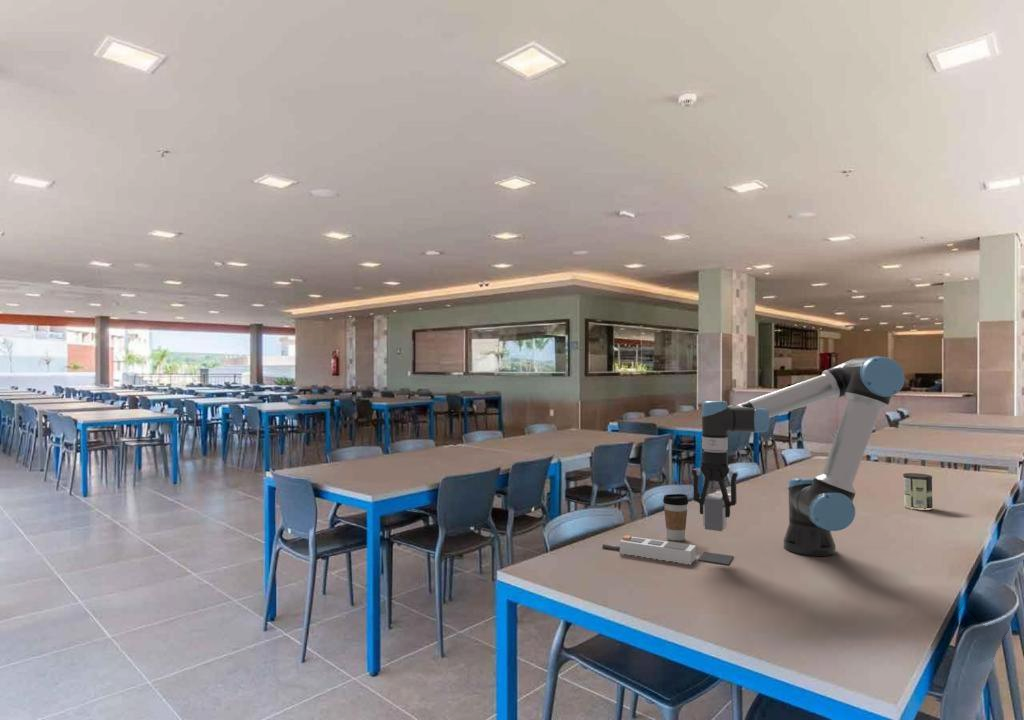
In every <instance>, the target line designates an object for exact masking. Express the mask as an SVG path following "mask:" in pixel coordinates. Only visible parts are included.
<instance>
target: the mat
mask: <svg viewBox="0 0 1024 720" xmlns="http://www.w3.org/2000/svg"><path fill="white" fill-rule="evenodd" d="M734 557H735V555H730V554H729V555H728V554H722V553H721V554H720V553H715V552H707V551H703V552H702V554H700V556H699V557H698V559H697V562H702V561H703V563H709V564H710V563H711V564H717V565H722V564H724V566H730V564H731V563H732V561H733V559H734ZM730 562H731V563H730Z"/></svg>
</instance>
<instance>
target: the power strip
mask: <svg viewBox="0 0 1024 720" xmlns="http://www.w3.org/2000/svg"><path fill="white" fill-rule="evenodd" d="M606 548H609V549H608V550H613V549H616V550H615V551H619V550H620V551H619V554H620V553H622V554H621V555H624V554H629V555H628V556H630V555H635V556H634V557H637V556H641V557H640V558H643V557H646V558H645V559H649V558H653V559H652V560H656V559H658V560H657V561H662V560H665V561H664V562H669V561H673V562H672V563H675V562H678V563H677V564H682V563H683V564H682V565H688V564H689V566H690V565H692V564H693V563H694V562H695V560H696V558H697V551H696V550H697V546H696V544H695V545H694V544H690V543H683V542H678V541H666V540H660V539H651V538H646V537H645V538H644V537H638V536H637V537H636V536H632V535H627V534H625V535H624V536H622V539H621V540H620V541H619V546H618V545H611V544H602V549H606ZM692 562H693V563H692Z"/></svg>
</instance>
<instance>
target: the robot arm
mask: <svg viewBox="0 0 1024 720" xmlns="http://www.w3.org/2000/svg"><path fill="white" fill-rule="evenodd" d="M904 384H905V373H904V370H903V369H902V367H901V365H900V364H899V363H898V362H897V361H895V360H894V359H893V358H889V357H886V356H880V355H874V356H867V357H855V358H852V359H849V360H847V361H845V362H842V363H840V364H837V365H836V366H832V367H830V368H828V369H825V370H823V371H822V373H821V375H818V376H814V377H812V378H809V379H806V380H803V381H801V382H798V383H795V384H792V385H790V386H786V387H784V388H781V389H779V390H778V389H777V390H775V391H773V392H770V393H766V394H764V395H761V396H757V397H754V398H752V399H750V400H749V399H748V400H747V401H744V402H741V403H738V404H731V405H728V402H727V401H725V400H705V401H704V402H703V403H702V407H701V448H702V452H701V466H700V467H699V468H694V469H692V470H691V473H692V476H693V501H694V502H696V503H698V504H699V514H700V515H702V525H703V527H705V498H706V496H707V495H708V493H709V488H710V484H711V482H716V483H717V482H718V485H719V488H720V492H721V495H722V496H723V500H724V504H725V505H724V506H723V507H722V514H723V528H724V529H726V528H727V526H728V525H727V522H728V521H727V520H728V519H727V518H730V517H731V507H733V506H736V504H737V503H738V502H737V498H738V497H737V479H738V476H739V472H737V471H734V470H733V471H732V470H731V469H730V468H729V466H728V464H729V462H728V461H729V460H728V456H729V455H728V452H727V451H728V450H729V449H728V447H729V444H728V443H729V441H728V439H729V438H728V433H731V432H732V433H735V432H736V433H738V432H739V433H755V434H757V433H766V432H767V431H768V430H769V428H770V421H771V420H770V419H771V418H774V417H776V416H779V415H782V414H786V413H788V412H790V411H794V410H796V409H799V408H802V407H805V406H808V405H811V404H814V403H817V402H820V401H823V400H826V399H830V398H831V397H832V398H834V399H839V398H842V397H845V396H846V399H847V400H848V401H847V403H846V407H845V409H844V412H843V415H842V416H841V419H840V422H839V425H838V427H837V431H836V433H835V436H834V439H833V441H832V445H831V446H830V449H829V453H828V455H827V458H826V461H825V464H824V467H823V469H822V472H821V473H820V474H818V475H816V476H814V477H813V478H812V477H810V478H807V477H805V478H804V477H801V478H800V477H795V478H793V477H792V478H790V479H789V481H788V487H787V490H788V526H787V529H786V532H785V534H784V537H783V548H784V549H785V550H787V551H789V552H791V553H795V554H799V555H805V556H810V557H811V556H812V557H828V556H833V554H834V555H835V554H836V552H837V551H836V546H837V545H836V543H835V540H834V537H833V535H832V532H838V531H842V530H845V529H847V528H848V527H849V526H850V525H851V524H852V523H853V521H854V520H855V516H856V507H855V504H854V503H853V502H854V499H855V496H856V494H857V493H856V490H855V487H854V485H853V484H854V482H855V478H856V475H857V473H858V471H859V468H860V465H861V462H862V460H863V456H864V454H865V452H866V449H867V446H868V443H869V440H870V438H871V436H872V433H873V430H874V427H875V425H876V422H877V420H878V417H879V415H880V414H879V413H880V411H881V410H882V409H885V408H887V407H888V406H889V404H890V402H891V399H892V396H894V395H896V394H897V393H899V392H900V391H901V390H902V388H903V387H904ZM701 474H703V475H704V477H705V479H704V484H703V488H702V491H701V495H700V476H701ZM727 475H729V479H730V497H729V493H728V489H727V485H726V482H725V481H726V480H725V479H726V477H727ZM724 529H723V530H724Z"/></svg>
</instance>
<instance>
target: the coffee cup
mask: <svg viewBox="0 0 1024 720" xmlns="http://www.w3.org/2000/svg"><path fill="white" fill-rule="evenodd" d="M688 498H689V497H688V495H687V494H684V493H674V494H673V493H672V494H669V493H668V494H665V495H664V496H663V499H662V501H663V502H662V503H663V505H664V508H663V510H664V519H665V520H664V521H665V529H666V537H667V539H668V540H669V539H671V540H670V541H674V540H682V541H684V540H685V539H686V529H687V528H686V526H687V518H688V517H687V516H688V509H687V506H688V504H689V500H688Z"/></svg>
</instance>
